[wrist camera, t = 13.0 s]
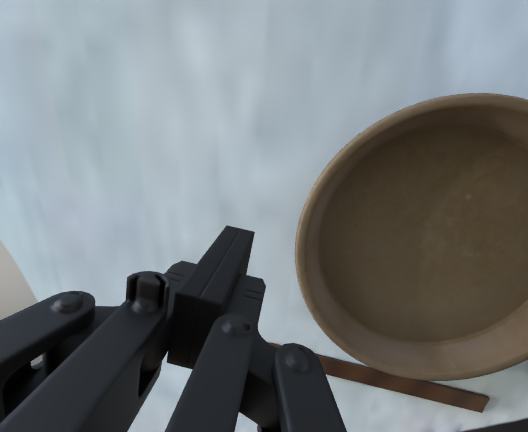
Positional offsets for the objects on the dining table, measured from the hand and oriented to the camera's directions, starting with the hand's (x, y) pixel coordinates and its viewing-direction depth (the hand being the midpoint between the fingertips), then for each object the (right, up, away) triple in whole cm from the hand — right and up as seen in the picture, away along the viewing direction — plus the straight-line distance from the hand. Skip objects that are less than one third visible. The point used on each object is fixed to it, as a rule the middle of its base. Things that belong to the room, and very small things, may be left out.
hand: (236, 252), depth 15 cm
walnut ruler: (+16, -20, +24) cm, 35 cm away
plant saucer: (+21, -1, +18) cm, 28 cm away
